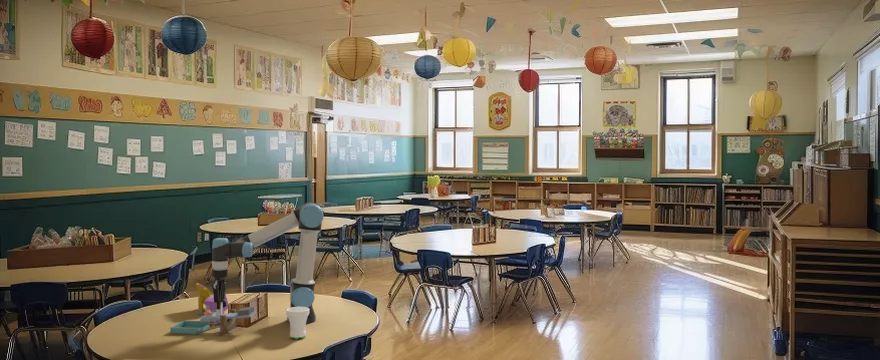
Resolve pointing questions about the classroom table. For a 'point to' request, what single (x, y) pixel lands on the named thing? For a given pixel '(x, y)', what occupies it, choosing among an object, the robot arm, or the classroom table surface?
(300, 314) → the cup
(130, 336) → the classroom table surface
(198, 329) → the tray
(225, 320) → the fulcrum
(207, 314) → the ball
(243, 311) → the lever
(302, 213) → the robot arm
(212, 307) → the toy
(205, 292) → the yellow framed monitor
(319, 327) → the classroom table surface
